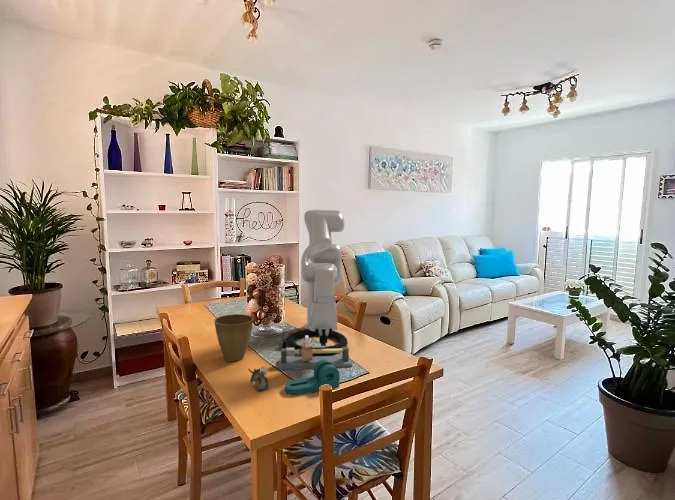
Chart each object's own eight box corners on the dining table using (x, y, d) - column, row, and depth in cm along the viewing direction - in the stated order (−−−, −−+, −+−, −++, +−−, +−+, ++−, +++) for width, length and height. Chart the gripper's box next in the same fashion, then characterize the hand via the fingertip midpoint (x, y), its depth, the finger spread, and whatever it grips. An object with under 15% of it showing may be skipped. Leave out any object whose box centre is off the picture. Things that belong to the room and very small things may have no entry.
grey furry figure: (241, 379, 130) (245, 386, 122) (252, 360, 132) (256, 366, 124) (260, 388, 132) (265, 396, 124) (271, 370, 134) (276, 376, 126)
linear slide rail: (278, 360, 149) (278, 345, 148) (348, 358, 153) (348, 343, 152) (278, 369, 141) (278, 353, 140) (351, 366, 145) (352, 350, 144)
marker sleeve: (301, 355, 149) (301, 335, 148) (311, 355, 149) (311, 335, 148) (301, 360, 144) (302, 340, 143) (312, 360, 144) (312, 339, 143)
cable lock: (357, 345, 158) (286, 352, 149) (356, 354, 159) (286, 362, 149) (335, 325, 184) (274, 330, 174) (335, 332, 185) (274, 338, 175)
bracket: (331, 379, 135) (331, 358, 134) (339, 387, 129) (339, 365, 128) (282, 388, 127) (282, 365, 126) (288, 397, 121) (288, 374, 120)
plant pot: (258, 361, 148) (258, 321, 146) (219, 368, 141) (218, 327, 139) (247, 348, 161) (247, 311, 159) (211, 354, 154) (210, 316, 152)
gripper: (342, 296, 149) (341, 341, 151) (304, 296, 147) (303, 341, 149) (344, 301, 142) (343, 348, 144) (304, 301, 140) (304, 348, 142)
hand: (323, 344), depth 147 cm, fingers closed
